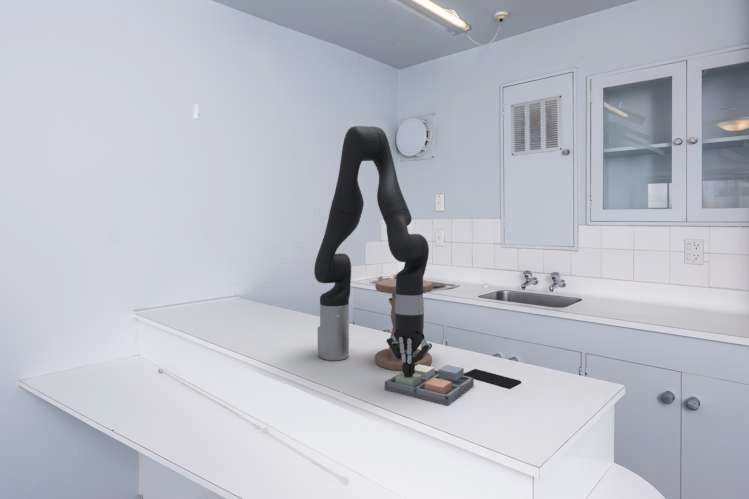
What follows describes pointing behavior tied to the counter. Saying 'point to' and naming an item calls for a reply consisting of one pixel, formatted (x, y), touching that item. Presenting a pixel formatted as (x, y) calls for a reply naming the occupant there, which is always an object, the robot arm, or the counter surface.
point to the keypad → (420, 392)
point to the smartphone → (492, 378)
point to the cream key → (424, 371)
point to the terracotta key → (438, 385)
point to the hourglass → (387, 356)
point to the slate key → (451, 372)
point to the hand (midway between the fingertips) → (408, 376)
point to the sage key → (408, 380)
